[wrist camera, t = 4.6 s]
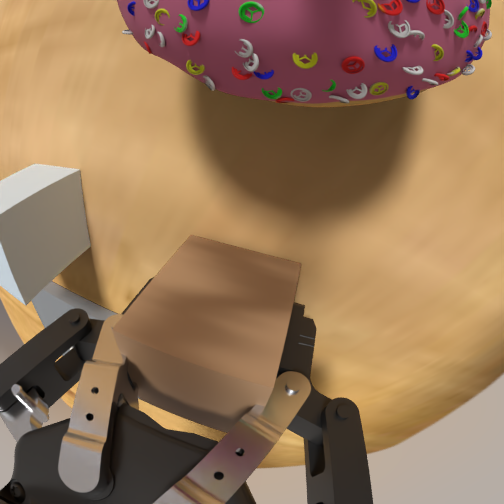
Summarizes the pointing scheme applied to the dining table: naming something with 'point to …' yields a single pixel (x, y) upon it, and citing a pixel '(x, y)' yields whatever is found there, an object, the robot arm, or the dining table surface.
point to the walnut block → (209, 331)
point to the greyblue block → (40, 227)
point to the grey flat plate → (64, 305)
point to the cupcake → (314, 45)
